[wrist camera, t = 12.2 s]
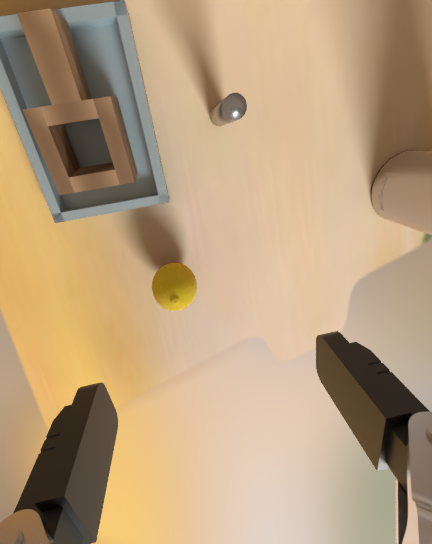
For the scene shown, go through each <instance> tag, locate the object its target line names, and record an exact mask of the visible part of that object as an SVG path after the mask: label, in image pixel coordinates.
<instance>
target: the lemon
mask: <svg viewBox="0 0 432 544" xmlns="http://www.w3.org/2000/svg"><path fill="white" fill-rule="evenodd" d="M152 290H153V295H154V297H155V299H156V301H157V302H158V303H159V304H160V305H161V306H162V307H163V308H165V309H168V310H173V311H175V310H181V309H184V308H185V307H187V306H188V305H189V304H190V303H191V302H192V300H193V299H194V297H195V293H196V279H195V276H194V274H193V273H192V271H191V270H190V269H189V268H188V267H187V266H185V265H183V264H181V263H168V264H166V265H164V266H162V267H161V268H160V269H159V270H158V271H157V272H156V274H155V276H154V278H153V282H152Z"/></svg>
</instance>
